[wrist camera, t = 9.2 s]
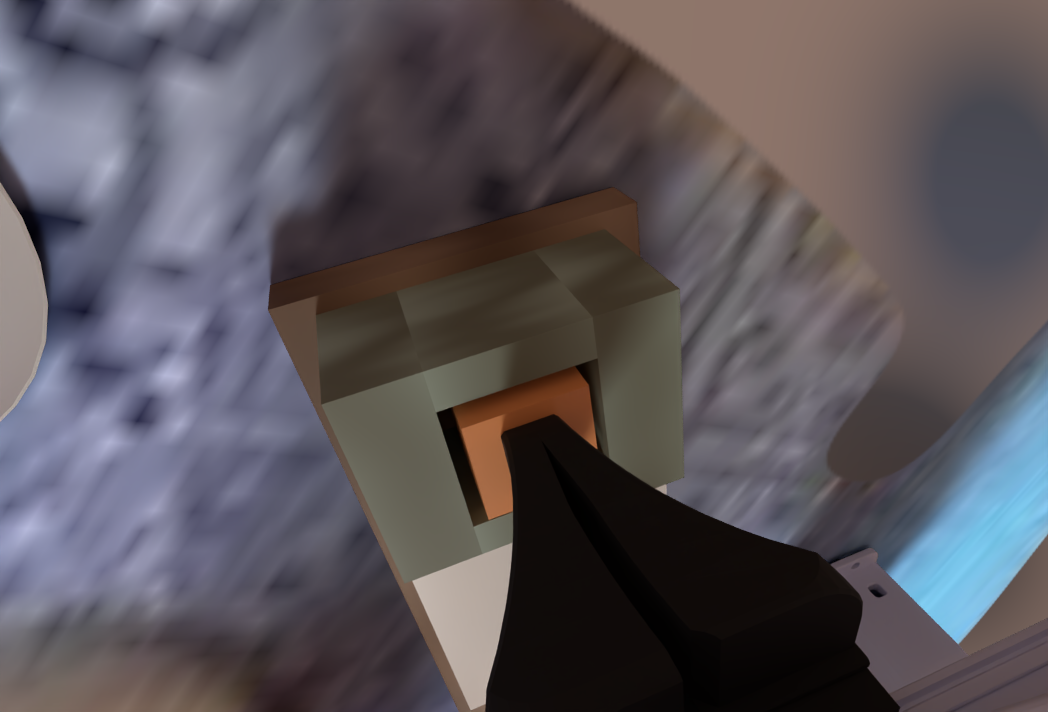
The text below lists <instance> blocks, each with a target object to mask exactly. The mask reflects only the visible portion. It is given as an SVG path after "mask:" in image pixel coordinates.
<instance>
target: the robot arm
mask: <svg viewBox="0 0 1048 712" xmlns="http://www.w3.org/2000/svg"><path fill="white" fill-rule="evenodd" d="M501 440H502V444H503V448H504V452H505V456H506V460H507V463H508V467H509V471H510V475H511V484H512V496H513V543H512V558H511V569H510V578H509V586H508V594H507V600H506V607H505V612H504V617H503V622H502V627H501V632H500V637H499V642H498V647H497V651H496V655H495V658H494V662H493V666H492V670H491V673H490V677H489V681H488V685H487V688H486V705H485V712H1048V618H1046V619H1044V620H1042V621H1040V622H1038V623H1036V624H1034V625H1032V626H1030V627H1028V628H1026V629H1023V630H1021V631H1019V632H1017V633H1015V634H1013V635H1011V636H1009V637H1007V638H1005V639H1002V640H1000V641H998V642H996V643H994V644H992V645H990V646H988V647H986V648H984V649H981V650H980V651H977V652H975V653H973V654H971V655H969V656H968V654H967V653H966V652H965V651H964V650H963V649H962V648H961V647H960V646H959V645H958V644H957V643H956V642H955V641H954V640H953V639H952V638H951V637H950V636H949V635H948V634H947V633H946V632H945V631H944V630H943V629H942V628H941V627H940V626H939V625H938V624H937V623H936V622H935V621H934V620H933V619H932V618H931V617H930V616H929V615H928V614H927V613H926V612H925V611H924V610H923V609H922V608H921V607H920V606H919V605H918V604H917V603H916V602H915V601H914V600H913V599H912V598H911V597H910V596H909V595H908V594H907V593H906V592H905V591H904V590H903V589H902V588H901V587H900V586H899V585H898V584H897V583H896V582H895V581H894V580H893V579H892V578H891V577H890V576H889V575H888V574H887V573H886V572H885V571H884V570H883V569H882V568H881V567H880V566H879V565H878V564H877V563H876V561H877V558H878V553H877V552H876V551H875V550H874V549H873V548H867V549H865V550H862V551H860V552H858V553H855V554H853V555H851V556H848V557H846V558H844V559H841V560H839V561H837V562H834V563H832V564H829V563H828V562H827V561H825V560H824V559H823V558H822V557H821V556H820V555H819V554H818V553H816V552H812V551H808V550H805V549H801V548H798V547H794V546H791V545H787V544H784V543H780V542H777V541H773V540H770V539H767V538H764V537H761V536H758V535H755V534H752V533H750V532H747V531H744V530H741V529H739V528H736V527H734V526H732V525H729V524H727V523H724V522H722V521H720V520H717V519H715V518H712V517H710V516H708V515H705V514H703V513H701V512H699V511H697V510H695V509H693V508H691V507H689V506H687V505H685V504H683V503H681V502H679V501H677V500H675V499H673V498H671V497H669V496H668V495H666V494H664V493H662V492H660V491H659V490H657V489H655V488H653V487H652V486H650V485H648V484H647V483H645V482H644V481H642V480H641V479H639V478H637V477H636V476H634V475H633V474H631V473H630V472H628V471H627V470H625V469H624V468H622V467H621V466H619V465H618V464H617V463H615V462H614V461H612V460H611V459H610V458H608V457H607V456H606V455H604V454H603V453H602V452H600V451H599V450H598V449H596V448H595V447H594V446H592V445H591V444H590V443H589V442H587V441H586V440H585V439H584V438H583V437H581V436H580V435H579V434H578V433H577V432H575V431H574V430H573V429H572V428H571V427H570V426H569V425H567V424H566V423H565V422H564V421H563V420H562V419H561V418H560V417H559V416H557V415H555V414H552V415H549V416H547V417H544V418H541V419H538V420H535V421H532V422H530V423H527V424H524V425H521V426H518V427H515V428H512V429H509V430H507V431H504V432H503V434H502V435H501Z"/></svg>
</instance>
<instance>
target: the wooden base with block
mask: <svg viewBox="0 0 1048 712" xmlns="http://www.w3.org/2000/svg"><path fill="white" fill-rule="evenodd" d="M268 311H269V313H270V315H271V317H272V319H273V321H274V324H275V326H276V328H277V330H278V332H279V334H280V336H281V338H282V340H283V342H284V345H285V347H286V349H287V351H288V353H289V355H290V357H291V359H292V361H293V364H294V366H295V368H296V370H297V372H298V374H299V376H300V378H301V380H302V382H303V385H304V387H305V389H306V391H307V393H308V395H309V397H310V399H311V401H312V404H313V406H314V408H315V410H316V412H317V414H318V416H319V418H320V420H321V422H322V425H323V427H324V429H325V431H326V433H327V435H328V437H329V439H330V441H331V443H332V446H333V448H334V450H335V452H336V454H337V456H338V458H339V460H340V462H341V465H342V467H343V469H344V471H345V473H346V475H347V477H348V479H349V481H350V483H351V486H352V488H353V490H354V492H355V494H356V496H357V498H358V500H359V502H360V505H361V507H362V509H363V511H364V513H365V515H366V517H367V519H368V521H369V523H370V526H371V528H372V530H373V532H374V534H375V536H376V538H377V540H378V542H379V544H380V547H381V549H382V551H383V553H384V555H385V557H386V559H387V561H388V563H389V566H390V568H391V570H392V572H393V574H394V576H395V578H396V580H397V582H398V584H399V587H400V589H401V591H402V593H403V595H404V597H405V599H406V601H407V603H408V606H409V608H410V610H411V612H412V614H413V616H414V618H415V620H416V622H417V624H418V627H419V629H420V631H421V633H422V635H423V637H424V639H425V641H426V643H427V645H428V648H429V650H430V652H431V654H432V656H433V658H434V660H435V662H436V664H437V667H438V669H439V671H440V673H441V675H442V677H443V679H444V681H445V683H446V685H447V688H448V690H449V692H450V694H451V696H452V698H453V700H454V702H455V704H456V707H457V709H458V711H459V712H485V705H486V704H484V705H482V706H480V707H477V708H475V709H473V710H470V708H469V706H468V703H467V701H466V699H465V697H464V695H463V692H462V690H461V688H460V686H459V683H458V681H457V679H456V677H455V675H454V672H453V670H452V668H451V666H450V664H449V661H448V659H447V657H446V655H445V652H444V650H443V648H442V646H441V644H440V641H439V639H438V637H437V635H436V633H435V630H434V628H433V626H432V624H431V621H430V619H429V617H428V615H427V613H426V610H425V608H424V606H423V604H422V602H421V599H420V597H419V595H418V593H417V590H416V588H415V586H414V584H413V582H412V581H413V580H416V579H418V578H421V577H424V576H426V575H429V574H431V573H434V572H437V571H439V570H442V569H445V568H447V567H450V566H452V565H455V564H458V563H460V562H463V561H466V560H468V559H471V558H473V557H476V556H479V555H481V554H484V553H487V552H489V551H492V550H495V549H497V548H500V547H502V546H505V545H508V544H510V543H513V511H512V512H509V513H506V514H503V515H501V516H498V517H495V518H493V519H490V520H489V519H488V516H487V514H486V511H485V508H484V505H483V502H482V500H481V497H480V494H479V491H478V489H477V486H476V483H475V480H474V477H473V475H472V472H471V469H470V466H469V464H468V461H467V458H466V455H465V452H464V450H463V447H462V444H461V441H460V438H459V434H458V431H457V428H456V425H455V421H454V418H453V415H452V412H451V407H453V406H456V405H459V404H462V403H465V402H468V401H471V400H474V399H477V398H480V397H483V396H486V395H489V394H492V393H495V392H498V391H501V390H504V389H507V388H510V387H513V386H516V385H519V384H522V383H525V382H528V381H531V380H534V379H537V378H540V377H543V376H546V375H549V374H552V373H555V372H558V371H561V370H564V369H567V368H570V367H573V366H575V367H576V368H577V370H578V371H579V373H580V374H581V375H582V377H583V378H584V379H585V381H586V382H587V384H588V385H589V391H590V398H591V405H592V413H593V420H594V428H595V435H596V443H597V449H598V450H599V451H600V452H602V453H603V454H604V455H606V456H607V457H608V458H610V459H611V460H612V461H614V462H615V463H617V464H618V465H619V466H621V467H622V468H624V469H625V470H627V471H628V472H630V473H631V474H633V475H634V476H636V477H637V478H639V479H641V480H642V481H644V482H645V483H647V484H648V485H650V486H652V487H653V488H657V487H660V486H663V485H665V484H668V483H671V482H673V481H676V480H678V479H681V478H684V450H683V408H682V366H681V324H680V289H679V288H678V287H677V286H675V285H674V284H673V283H672V282H670V281H669V280H668V279H667V278H665V277H664V276H663V275H662V274H660V273H659V272H658V271H657V270H655V269H654V268H653V267H652V266H650V265H649V264H648V263H647V262H645V261H644V260H643V259H642V258H640V247H639V231H638V215H637V202H636V201H634V200H633V199H631V198H629V197H628V196H626V195H625V194H623V193H622V192H620V191H619V190H617V189H616V188H614V187H612V188H608V189H605V190H601V191H598V192H594V193H591V194H587V195H584V196H580V197H577V198H573V199H570V200H566V201H563V202H559V203H556V204H552V205H549V206H545V207H542V208H538V209H535V210H531V211H528V212H524V213H521V214H517V215H514V216H510V217H507V218H503V219H500V220H496V221H493V222H489V223H486V224H482V225H479V226H475V227H472V228H468V229H465V230H461V231H458V232H454V233H451V234H447V235H444V236H440V237H437V238H433V239H430V240H426V241H423V242H419V243H416V244H412V245H409V246H405V247H402V248H398V249H395V250H391V251H388V252H384V253H381V254H377V255H374V256H370V257H367V258H363V259H360V260H356V261H353V262H349V263H346V264H342V265H339V266H335V267H332V268H329V269H325V270H322V271H318V272H315V273H311V274H308V275H304V276H301V277H297V278H294V279H290V280H287V281H283V282H280V283H276V284H273V285H270V292H269V305H268Z"/></svg>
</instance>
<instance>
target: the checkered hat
mask: <svg viewBox="0 0 1048 712" xmlns="http://www.w3.org/2000/svg"><path fill="white" fill-rule="evenodd" d="M47 313H48V301H47V295H46V290H45V284H44V279H43V273H42V268H41V263H40V260H39V257H38V255H37V252H36V250H35V248H34V245H33V243H32V240H31V238H30V235H29V233H28V230H27V228H26V225H25V223H24V221H23V218H22V216H21V215H20V213H19V212H18V210H17V208H16V207H15V205H14V204H13V202H12V200H11V199H10V197H9V196H8V194H7V192H6V191H5V189H4V188H3V186H2V184H1V183H0V421H1V420H2V419H3V418H4V417H5V416H6V415H7V414H8V413H9V412H11V411H12V410H13V409H14V408H15V407H16V405H17V404H18V402H19V400H20V399H21V397H22V396H23V394H24V392H25V391H26V389H27V388H28V386H29V385H30V383H31V381H32V380H33V378H34V377H35V374H36V371H37V368H38V365H39V362H40V359H41V355H42V352H43V349H44V346H45V343H46V331H47Z"/></svg>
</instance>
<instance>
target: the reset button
mask: <svg viewBox="0 0 1048 712" xmlns="http://www.w3.org/2000/svg"><path fill="white" fill-rule="evenodd" d="M451 412H452V415H453V418H454V421H455V425H456V428H457V431H458V434H459V438H460V441H461V444H462V447H463V450H464V452H465V455H466V458H467V461H468V464H469V466H470V469H471V472H472V475H473V477H474V480H475V483H476V486H477V489H478V491H479V494H480V497H481V500H482V502H483V505H484V508H485V511H486V514H487V516H488V519H489V520H490V519H493V518H495V517H498V516H501V515H503V514H506V513H509V512H512V511H513V496H512V484H511V475H510V471H509V467H508V463H507V460H506V456H505V452H504V448H503V444H502V440H501V435H502V434H503V432H504V431H507V430H509V429H512V428H515V427H518V426H521V425H524V424H527V423H530V422H532V421H535V420H538V419H541V418H544V417H547V416H549V415H552V414H555V415H557V416H559V417H560V418H561V419H562V420H563V421H564V422H565V423H566V424H567V425H569V426H570V427H571V428H572V429H573V430H574V431H575V432H577V433H578V434H579V435H580V436H581V437H583V438H584V439H585V440H586V441H587V442H589V443H590V444H591V445H592V446H594V447H595V448H596V449H597V443H596V435H595V428H594V420H593V413H592V405H591V398H590V391H589V385H588V384H587V382H586V381H585V379H584V378H583V377H582V375H581V374H580V373H579V371H578V370H577V368H576V367H575V366H573V367H570V368H567V369H564V370H561V371H558V372H555V373H552V374H549V375H546V376H543V377H540V378H537V379H534V380H531V381H528V382H525V383H522V384H519V385H516V386H513V387H510V388H507V389H504V390H501V391H498V392H495V393H492V394H489V395H486V396H483V397H480V398H477V399H474V400H471V401H468V402H465V403H462V404H459V405H456V406H453V407H451Z"/></svg>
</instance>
